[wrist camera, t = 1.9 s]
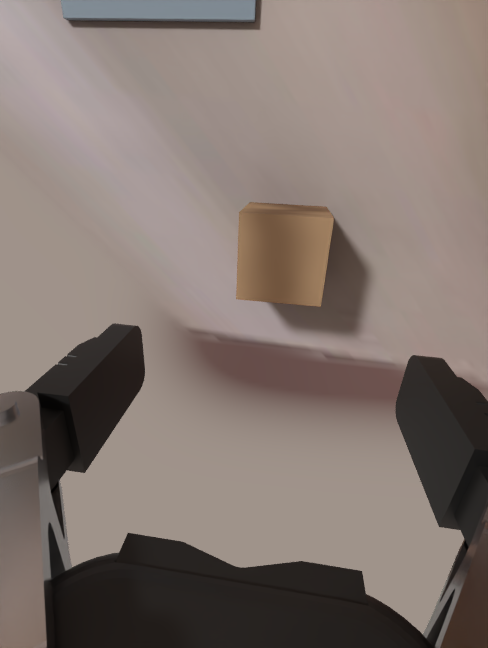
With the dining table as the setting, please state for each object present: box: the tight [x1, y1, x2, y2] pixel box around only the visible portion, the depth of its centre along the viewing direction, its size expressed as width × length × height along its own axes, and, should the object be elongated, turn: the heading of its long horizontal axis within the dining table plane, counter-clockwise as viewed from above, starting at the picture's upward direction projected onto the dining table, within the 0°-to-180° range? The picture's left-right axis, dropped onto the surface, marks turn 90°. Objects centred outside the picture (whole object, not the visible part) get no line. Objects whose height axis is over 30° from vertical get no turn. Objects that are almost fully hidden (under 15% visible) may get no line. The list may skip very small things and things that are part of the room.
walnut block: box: [236, 202, 334, 307], centre depth 24 cm, size 6×6×6 cm
